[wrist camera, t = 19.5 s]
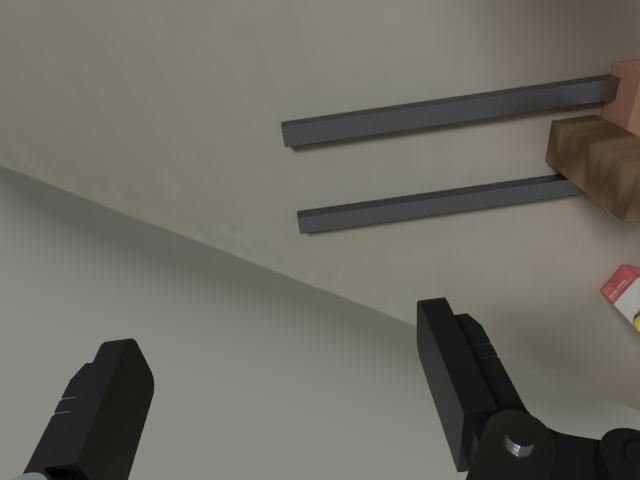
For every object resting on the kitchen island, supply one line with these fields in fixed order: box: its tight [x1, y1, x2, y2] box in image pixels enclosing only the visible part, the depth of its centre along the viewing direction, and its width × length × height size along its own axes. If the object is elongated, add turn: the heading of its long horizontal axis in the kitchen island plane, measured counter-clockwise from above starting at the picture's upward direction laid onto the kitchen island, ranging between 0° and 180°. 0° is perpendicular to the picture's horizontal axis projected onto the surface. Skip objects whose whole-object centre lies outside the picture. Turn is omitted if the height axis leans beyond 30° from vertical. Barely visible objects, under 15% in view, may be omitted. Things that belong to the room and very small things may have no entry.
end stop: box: [583, 60, 640, 211], centre depth 43 cm, size 14×2×4 cm, turn 7°
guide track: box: [281, 74, 621, 234], centre depth 45 cm, size 12×32×2 cm, turn 97°
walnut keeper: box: [545, 115, 640, 223], centre depth 40 cm, size 4×4×13 cm
